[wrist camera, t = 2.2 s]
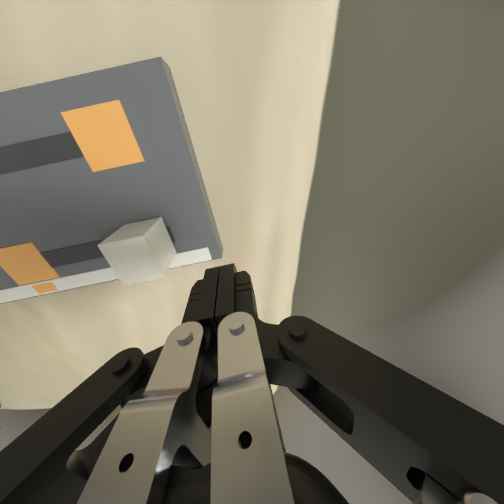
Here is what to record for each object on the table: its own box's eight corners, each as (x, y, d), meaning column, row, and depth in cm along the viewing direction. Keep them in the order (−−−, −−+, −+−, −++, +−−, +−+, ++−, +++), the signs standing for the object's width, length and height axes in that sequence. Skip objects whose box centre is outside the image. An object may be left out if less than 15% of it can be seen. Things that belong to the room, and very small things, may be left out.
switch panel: (-150, 138, 15) (-206, 137, 13) (169, 67, 14) (160, 56, 12) (8, 293, 22) (-13, 306, 20) (223, 248, 22) (222, 258, 20)
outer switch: (124, 224, 17) (97, 245, 14) (161, 216, 17) (142, 235, 14) (143, 259, 19) (123, 286, 15) (176, 252, 19) (163, 277, 15)
